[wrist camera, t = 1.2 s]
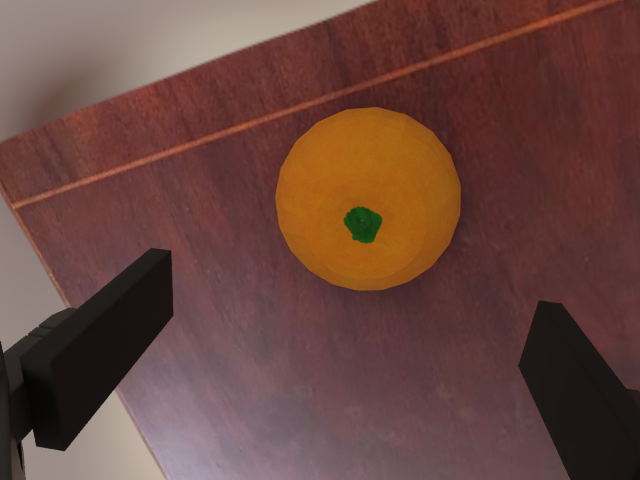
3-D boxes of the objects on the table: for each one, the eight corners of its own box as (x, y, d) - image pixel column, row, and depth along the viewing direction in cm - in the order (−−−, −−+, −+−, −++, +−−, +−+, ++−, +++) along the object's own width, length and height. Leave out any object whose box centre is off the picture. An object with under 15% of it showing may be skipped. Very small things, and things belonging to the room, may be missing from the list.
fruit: (341, 284, 36) (326, 362, 27) (257, 158, 33) (208, 197, 24) (480, 214, 32) (520, 276, 23) (401, 65, 29) (409, 69, 20)
